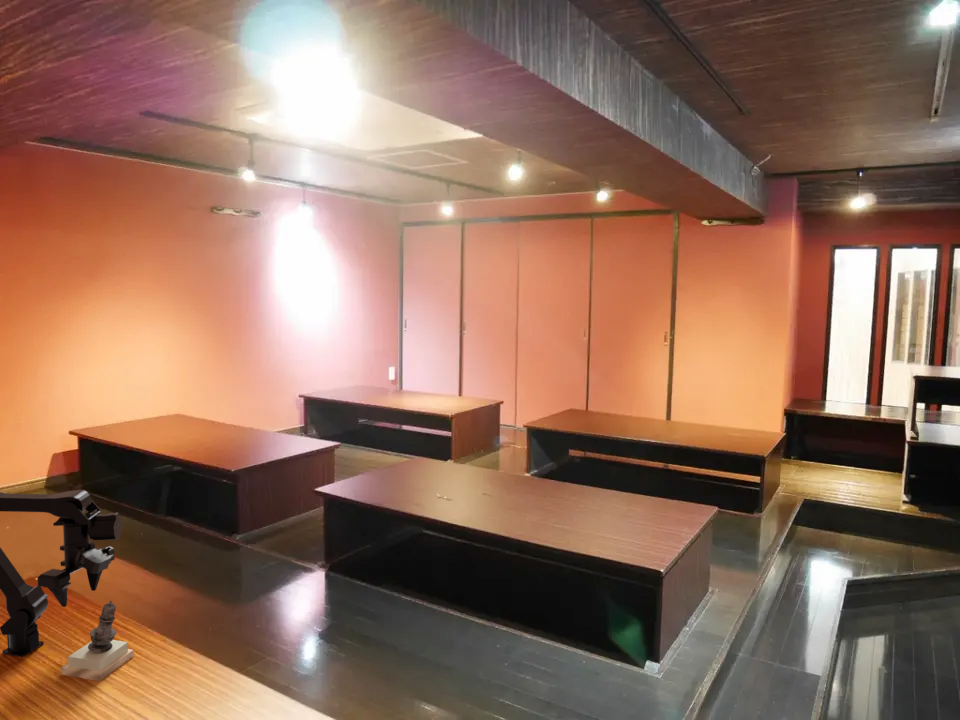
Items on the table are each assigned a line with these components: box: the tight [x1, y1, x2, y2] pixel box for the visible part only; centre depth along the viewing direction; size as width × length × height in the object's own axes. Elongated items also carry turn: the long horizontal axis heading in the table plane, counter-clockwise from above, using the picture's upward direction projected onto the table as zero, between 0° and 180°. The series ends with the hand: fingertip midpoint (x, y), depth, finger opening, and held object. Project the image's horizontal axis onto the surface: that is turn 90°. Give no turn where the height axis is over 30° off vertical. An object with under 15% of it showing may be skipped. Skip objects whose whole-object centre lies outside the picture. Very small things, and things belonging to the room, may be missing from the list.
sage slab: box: [67, 639, 129, 671], centre depth 158 cm, size 9×9×2 cm
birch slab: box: [60, 648, 135, 682], centre depth 158 cm, size 11×11×2 cm
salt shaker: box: [88, 600, 117, 652], centre depth 158 cm, size 6×6×12 cm
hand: (79, 598), depth 165 cm, fingers open, 9 cm apart
